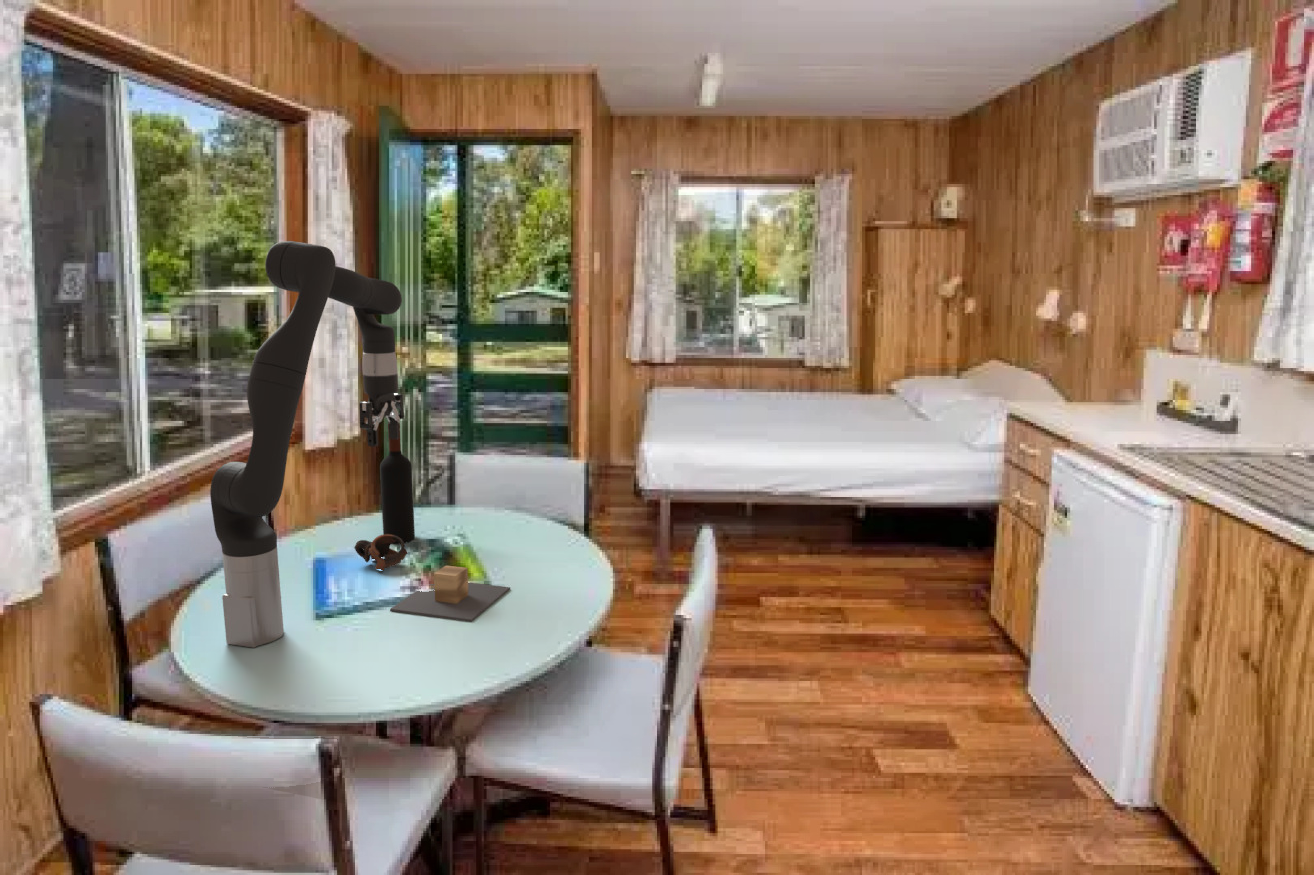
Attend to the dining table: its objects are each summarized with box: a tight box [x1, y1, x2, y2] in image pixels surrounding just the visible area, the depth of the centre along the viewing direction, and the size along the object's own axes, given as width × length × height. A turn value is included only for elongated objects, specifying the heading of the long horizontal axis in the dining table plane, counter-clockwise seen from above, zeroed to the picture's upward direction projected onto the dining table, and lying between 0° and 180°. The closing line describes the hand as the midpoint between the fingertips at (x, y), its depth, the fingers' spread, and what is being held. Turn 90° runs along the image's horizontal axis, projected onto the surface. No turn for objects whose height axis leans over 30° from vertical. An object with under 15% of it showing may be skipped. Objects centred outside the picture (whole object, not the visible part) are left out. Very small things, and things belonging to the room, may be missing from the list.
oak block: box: [433, 565, 469, 604], centre depth 186 cm, size 5×5×6 cm
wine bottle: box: [379, 421, 416, 545], centre depth 222 cm, size 8×8×30 cm
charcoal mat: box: [389, 582, 511, 622], centre depth 187 cm, size 18×18×1 cm
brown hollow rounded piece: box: [353, 534, 409, 571], centre depth 206 cm, size 12×10×8 cm
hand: (383, 442), depth 205 cm, fingers open, 8 cm apart
